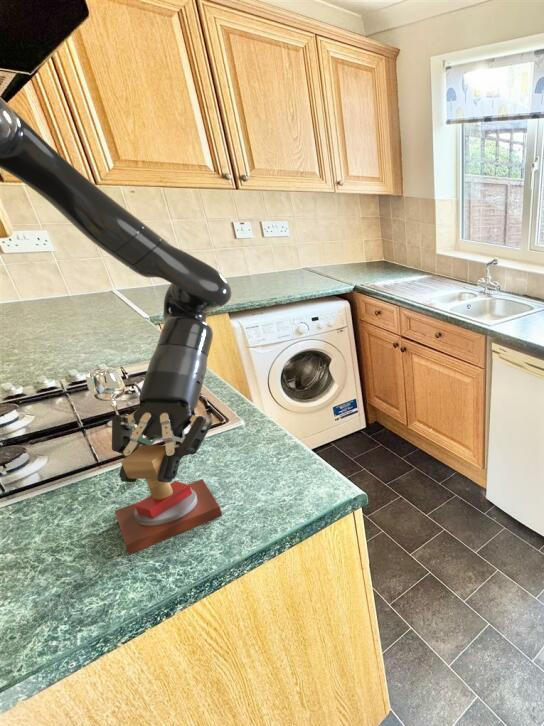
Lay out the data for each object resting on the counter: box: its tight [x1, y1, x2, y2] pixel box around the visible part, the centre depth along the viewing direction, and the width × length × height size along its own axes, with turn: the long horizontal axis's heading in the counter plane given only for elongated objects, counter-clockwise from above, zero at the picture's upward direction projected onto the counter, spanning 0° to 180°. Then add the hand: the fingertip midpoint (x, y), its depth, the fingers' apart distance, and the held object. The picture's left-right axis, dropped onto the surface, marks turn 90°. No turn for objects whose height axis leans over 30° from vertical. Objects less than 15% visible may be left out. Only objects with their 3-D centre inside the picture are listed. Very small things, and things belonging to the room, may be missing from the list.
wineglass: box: [86, 368, 126, 428], centre depth 92 cm, size 6×6×12 cm
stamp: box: [120, 444, 198, 526], centre depth 66 cm, size 8×8×11 cm
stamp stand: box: [114, 478, 223, 555], centre depth 69 cm, size 12×10×2 cm
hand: (146, 481), depth 64 cm, fingers closed on stamp, 4 cm apart
